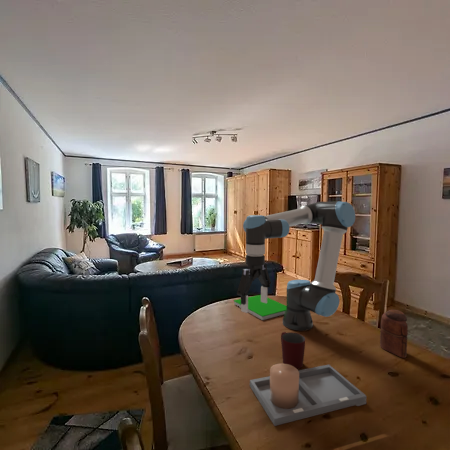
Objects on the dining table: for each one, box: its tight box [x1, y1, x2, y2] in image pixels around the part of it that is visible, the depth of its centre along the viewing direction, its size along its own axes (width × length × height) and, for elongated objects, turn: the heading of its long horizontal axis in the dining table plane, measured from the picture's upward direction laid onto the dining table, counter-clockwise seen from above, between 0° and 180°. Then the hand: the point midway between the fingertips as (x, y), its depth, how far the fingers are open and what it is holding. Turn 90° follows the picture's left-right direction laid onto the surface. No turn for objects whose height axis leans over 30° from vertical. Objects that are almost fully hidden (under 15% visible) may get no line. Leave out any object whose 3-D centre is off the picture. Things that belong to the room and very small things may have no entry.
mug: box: [280, 331, 306, 370], centre depth 110 cm, size 12×9×11 cm
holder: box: [249, 364, 367, 427], centre depth 92 cm, size 32×18×3 cm, turn 108°
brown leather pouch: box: [379, 309, 409, 359], centre depth 119 cm, size 12×6×18 cm, turn 28°
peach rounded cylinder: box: [269, 362, 299, 409], centre depth 89 cm, size 9×9×9 cm
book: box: [233, 294, 287, 321], centre depth 168 cm, size 22×28×3 cm
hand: (254, 307), depth 113 cm, fingers open, 13 cm apart
